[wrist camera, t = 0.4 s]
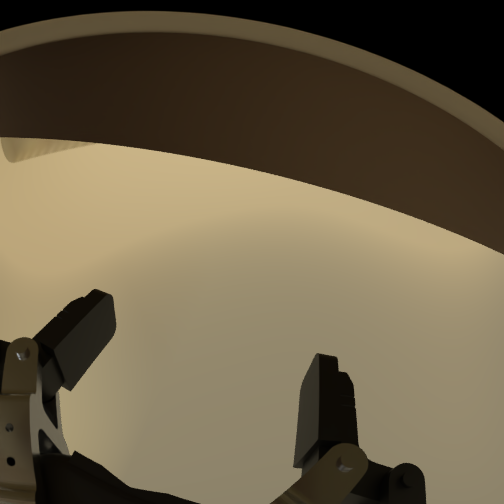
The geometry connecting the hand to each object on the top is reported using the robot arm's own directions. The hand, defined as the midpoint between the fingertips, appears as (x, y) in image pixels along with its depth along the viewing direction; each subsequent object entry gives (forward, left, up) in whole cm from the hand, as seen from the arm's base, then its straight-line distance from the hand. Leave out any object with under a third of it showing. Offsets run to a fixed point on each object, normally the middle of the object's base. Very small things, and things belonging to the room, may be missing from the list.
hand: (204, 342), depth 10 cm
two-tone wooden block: (-14, +15, -29) cm, 35 cm away
